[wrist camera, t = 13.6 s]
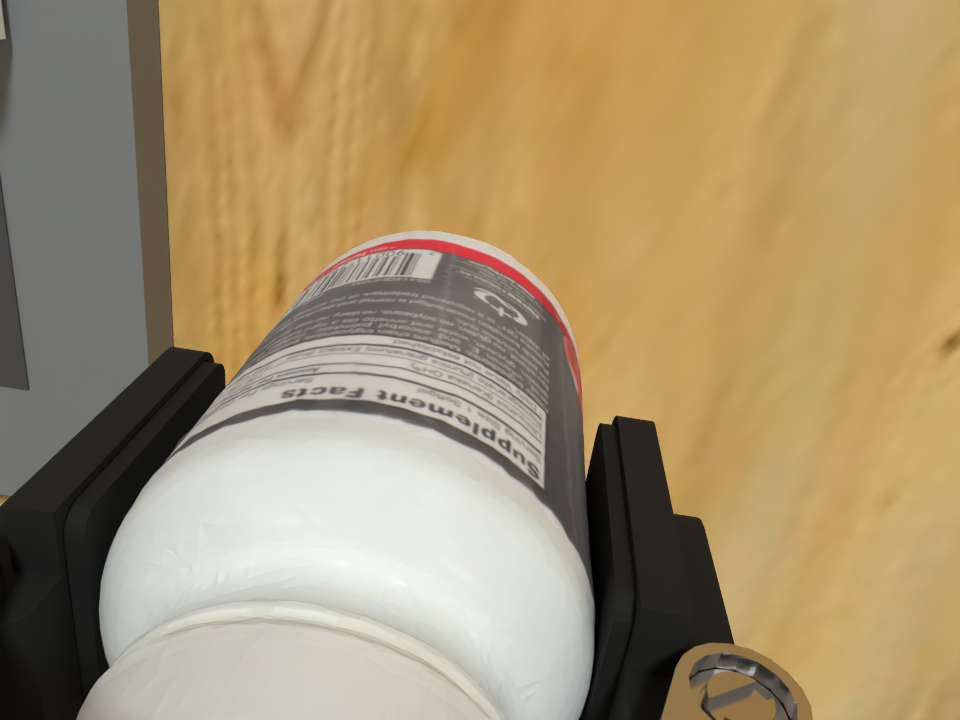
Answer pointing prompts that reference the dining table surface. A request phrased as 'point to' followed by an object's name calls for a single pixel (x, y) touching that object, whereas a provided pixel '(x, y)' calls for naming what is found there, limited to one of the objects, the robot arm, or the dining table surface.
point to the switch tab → (1, 24)
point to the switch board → (78, 219)
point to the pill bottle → (370, 512)
